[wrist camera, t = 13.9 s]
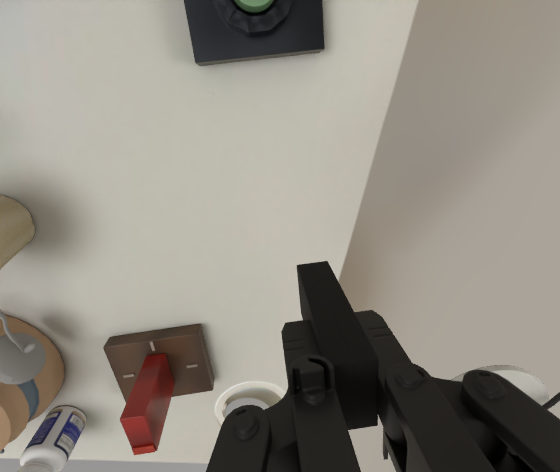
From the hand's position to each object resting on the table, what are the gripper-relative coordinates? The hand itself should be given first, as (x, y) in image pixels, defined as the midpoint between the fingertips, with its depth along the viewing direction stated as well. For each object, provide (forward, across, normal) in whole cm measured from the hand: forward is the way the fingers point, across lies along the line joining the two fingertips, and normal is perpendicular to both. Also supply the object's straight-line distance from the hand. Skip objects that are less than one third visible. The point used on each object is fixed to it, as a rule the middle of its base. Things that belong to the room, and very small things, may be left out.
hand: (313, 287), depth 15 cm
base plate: (+22, -18, -22) cm, 36 cm away
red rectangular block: (+20, -18, -22) cm, 35 cm away
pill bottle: (+23, -34, -30) cm, 51 cm away
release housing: (+22, 0, +18) cm, 28 cm away
